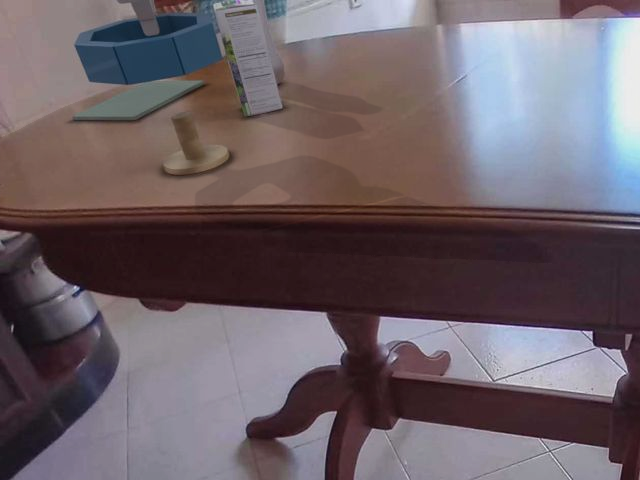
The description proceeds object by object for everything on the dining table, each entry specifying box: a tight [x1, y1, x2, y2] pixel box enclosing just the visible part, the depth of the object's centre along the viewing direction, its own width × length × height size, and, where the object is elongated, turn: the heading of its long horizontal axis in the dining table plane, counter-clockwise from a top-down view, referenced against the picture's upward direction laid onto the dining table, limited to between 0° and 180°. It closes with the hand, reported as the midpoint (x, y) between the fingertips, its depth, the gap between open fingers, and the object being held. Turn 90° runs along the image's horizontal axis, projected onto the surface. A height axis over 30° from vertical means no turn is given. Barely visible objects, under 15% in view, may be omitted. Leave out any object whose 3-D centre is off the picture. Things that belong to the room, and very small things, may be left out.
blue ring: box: [73, 12, 223, 86], centre depth 81 cm, size 15×15×4 cm
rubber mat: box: [71, 80, 205, 121], centre depth 115 cm, size 18×12×1 cm, turn 163°
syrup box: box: [212, 0, 284, 117], centre depth 101 cm, size 6×6×14 cm
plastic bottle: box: [222, 0, 285, 85], centre depth 109 cm, size 6×7×20 cm
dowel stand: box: [162, 111, 230, 176], centre depth 87 cm, size 8×8×6 cm
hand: (153, 32), depth 86 cm, fingers closed on blue ring, 2 cm apart
